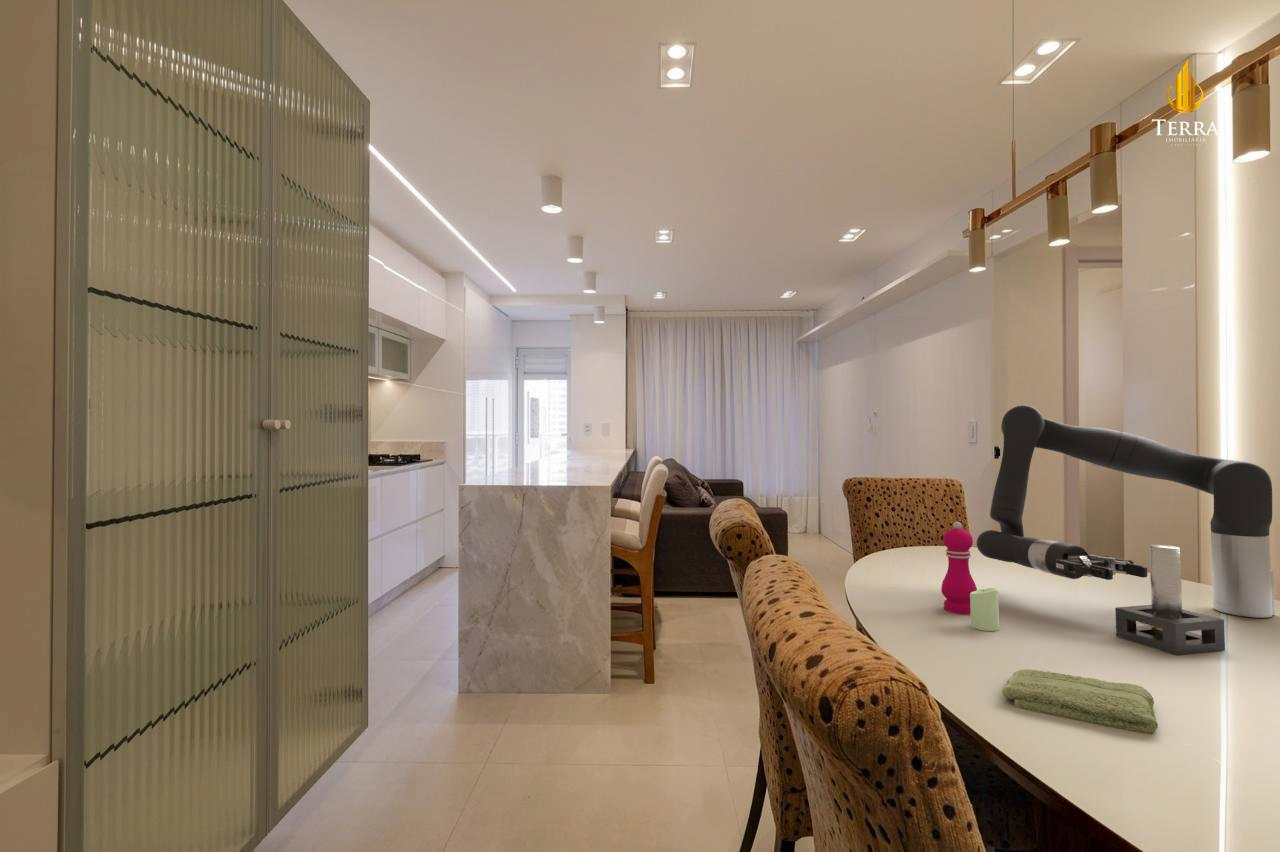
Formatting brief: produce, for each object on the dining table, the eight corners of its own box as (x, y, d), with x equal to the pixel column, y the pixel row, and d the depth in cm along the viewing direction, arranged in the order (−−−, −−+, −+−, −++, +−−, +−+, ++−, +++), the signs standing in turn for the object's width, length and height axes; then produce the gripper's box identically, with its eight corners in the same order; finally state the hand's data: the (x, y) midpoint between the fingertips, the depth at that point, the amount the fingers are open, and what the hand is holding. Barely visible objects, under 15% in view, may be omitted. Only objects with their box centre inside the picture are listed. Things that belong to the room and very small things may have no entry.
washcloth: (1011, 679, 99) (1011, 659, 99) (1153, 707, 88) (1152, 684, 88) (1001, 707, 88) (1000, 685, 89) (1160, 743, 78) (1159, 717, 78)
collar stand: (1161, 631, 121) (1160, 603, 121) (1224, 650, 110) (1223, 619, 110) (1116, 635, 118) (1115, 607, 118) (1176, 655, 108) (1175, 624, 108)
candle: (967, 628, 124) (966, 587, 125) (974, 622, 128) (973, 583, 128) (995, 633, 121) (994, 591, 121) (1001, 627, 125) (1000, 587, 125)
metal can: (1164, 637, 117) (1161, 544, 117) (1190, 645, 112) (1187, 548, 113) (1145, 639, 116) (1142, 545, 116) (1170, 647, 111) (1167, 549, 112)
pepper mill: (969, 606, 140) (967, 519, 141) (983, 615, 133) (981, 523, 134) (936, 605, 141) (934, 519, 141) (949, 614, 134) (947, 523, 134)
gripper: (1030, 543, 136) (1099, 556, 120) (1082, 540, 139) (1156, 553, 123) (1031, 576, 136) (1100, 594, 120) (1083, 573, 139) (1157, 590, 123)
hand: (1128, 573), depth 121 cm, fingers open, 8 cm apart
